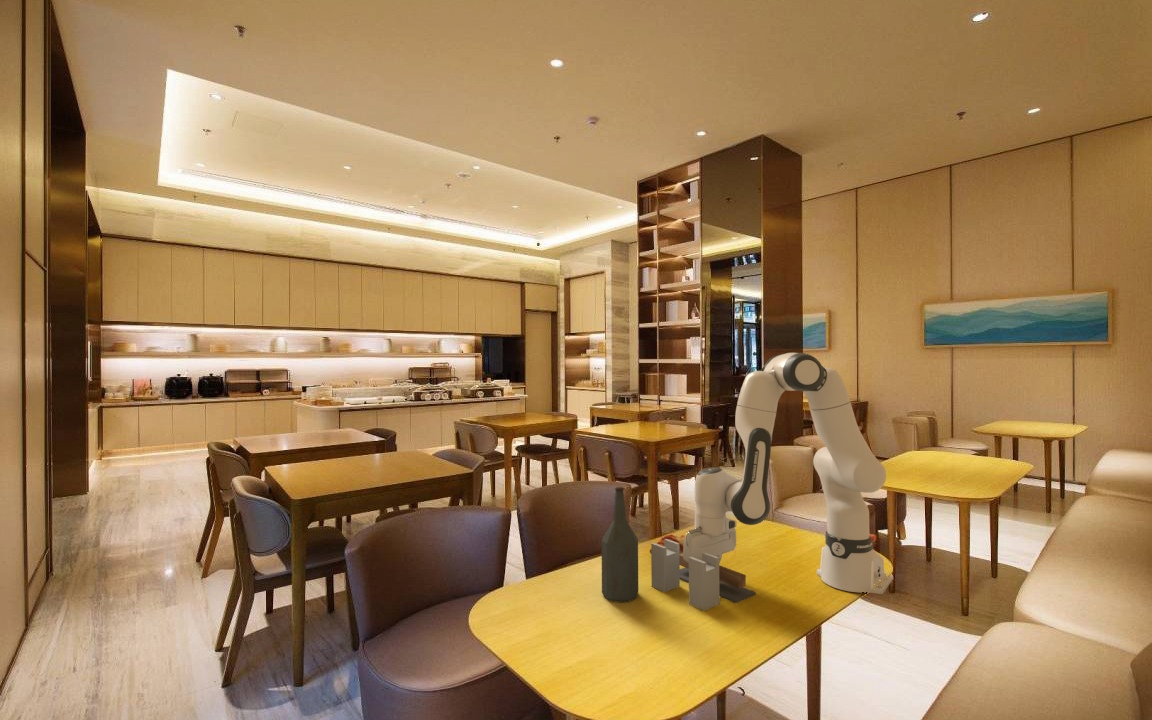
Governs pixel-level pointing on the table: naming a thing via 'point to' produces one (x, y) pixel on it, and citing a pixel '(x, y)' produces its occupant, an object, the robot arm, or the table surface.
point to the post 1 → (665, 565)
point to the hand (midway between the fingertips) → (710, 571)
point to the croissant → (676, 539)
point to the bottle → (620, 556)
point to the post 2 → (704, 581)
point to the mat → (724, 589)
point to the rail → (724, 575)
